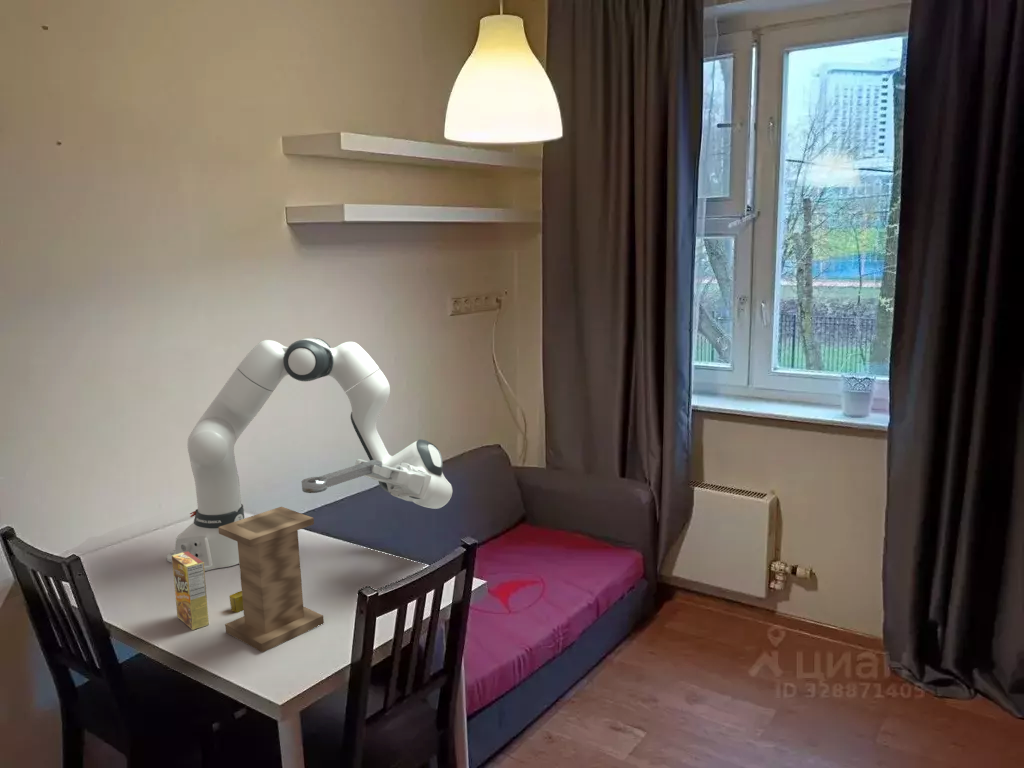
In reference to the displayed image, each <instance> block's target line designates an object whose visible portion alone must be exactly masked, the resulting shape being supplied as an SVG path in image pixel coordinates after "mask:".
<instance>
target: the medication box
mask: <svg viewBox="0 0 1024 768" xmlns="http://www.w3.org/2000/svg"><path fill="white" fill-rule="evenodd" d="M229 603H230V611H231V612H234V613H237V614H238V613H240V612H244V609H243V598H242V590H239V591H237V592H235V593H231V594H230V595H229Z"/></svg>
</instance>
